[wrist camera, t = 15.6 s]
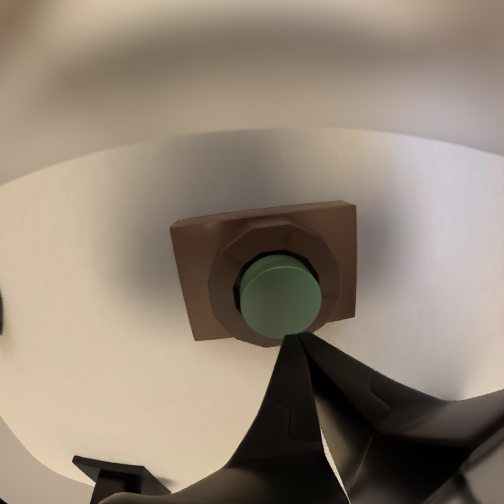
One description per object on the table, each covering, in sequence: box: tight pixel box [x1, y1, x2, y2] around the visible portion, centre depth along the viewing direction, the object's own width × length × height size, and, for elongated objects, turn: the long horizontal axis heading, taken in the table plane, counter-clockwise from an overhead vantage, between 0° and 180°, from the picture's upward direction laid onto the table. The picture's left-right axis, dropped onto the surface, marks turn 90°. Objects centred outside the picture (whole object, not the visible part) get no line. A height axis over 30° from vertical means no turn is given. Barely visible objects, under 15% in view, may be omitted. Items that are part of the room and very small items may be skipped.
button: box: [240, 255, 322, 339], centre depth 12 cm, size 4×4×2 cm
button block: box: [170, 201, 357, 347], centre depth 15 cm, size 10×7×4 cm
